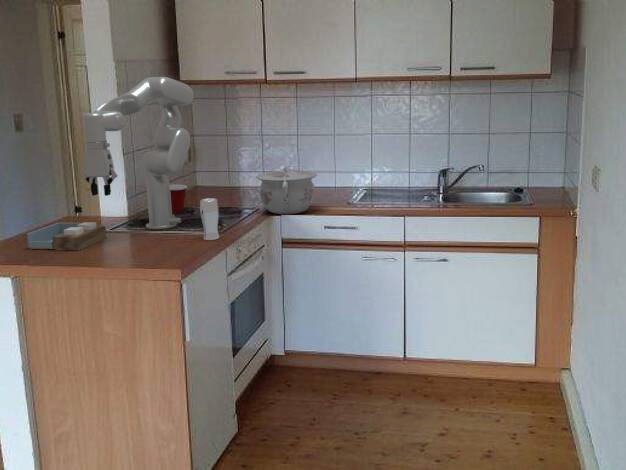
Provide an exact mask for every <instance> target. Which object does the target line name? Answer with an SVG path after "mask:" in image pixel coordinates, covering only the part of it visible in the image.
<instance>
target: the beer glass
mask: <svg viewBox="0 0 626 470" xmlns="http://www.w3.org/2000/svg"><path fill="white" fill-rule="evenodd" d="M199 203H200V204H199V214H200V219H201V223H202V227H203V237H202V239H203V240H205V241H214V240H215V241H216V240H219V239H220V235H219V231H218V225H219V216H220V215H219V214H220V210H219V203H218V198H213V197H212V198H211V197H210V198H203V199H202V198H201V199H200V200H199Z"/></svg>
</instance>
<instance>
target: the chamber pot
mask: <svg viewBox="0 0 626 470" xmlns="http://www.w3.org/2000/svg"><path fill="white" fill-rule="evenodd" d="M317 176H318V174H317V173H316V172H312V171H309V170H299V169H298V170H297V169H288V166H285V167H284V168H283V170H281V169H280V170H273V171H267V172H264V173H260V174H258V175H256V176H255V178H256V179H257V180H259V181H260V182H261V184H260V186H259V194H260V198H261V202H262V204H263V205H264V207H265V208H266V209H267V211H268V212H269V213H272V214H275V215H280V216H290V215H298V214H301V213H304V212H306V211H307V210H308V209H309V208H310V206H311V204H312V202H313V200H314V195H315V184H314V183H313V181H312V179H313V178H316V177H317Z"/></svg>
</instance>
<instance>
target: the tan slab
mask: <svg viewBox="0 0 626 470" xmlns="http://www.w3.org/2000/svg"><path fill="white" fill-rule="evenodd" d="M96 226H97V228H94V229H92V230H84V233H82V234H79V235H76V236H73V235H64V233H61V234H59V235H56V236H53V237H52V239H53V247H54V249H62V250H61V251H65V250H79V251H81V250H83V248H84V249H85V247H86V248H87V247H88V248H89V247H90V246H93V245H95V244H97V243H100V242H102V241H104V240H107V238H108V237H107V228H106V226H105V225H96ZM80 249H81V250H80Z"/></svg>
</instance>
